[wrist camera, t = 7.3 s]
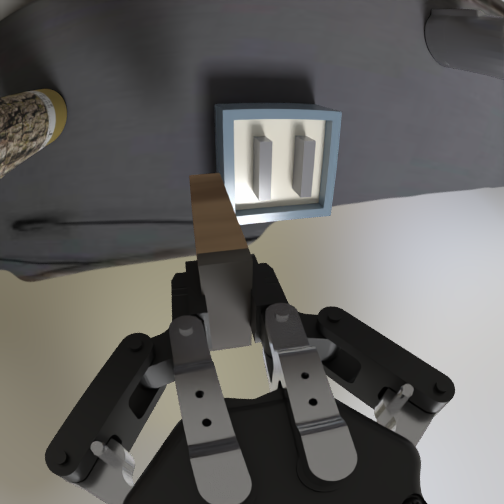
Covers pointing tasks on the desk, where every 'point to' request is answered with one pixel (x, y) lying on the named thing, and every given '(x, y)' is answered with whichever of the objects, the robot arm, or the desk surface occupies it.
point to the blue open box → (277, 159)
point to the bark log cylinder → (28, 125)
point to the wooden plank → (222, 262)
